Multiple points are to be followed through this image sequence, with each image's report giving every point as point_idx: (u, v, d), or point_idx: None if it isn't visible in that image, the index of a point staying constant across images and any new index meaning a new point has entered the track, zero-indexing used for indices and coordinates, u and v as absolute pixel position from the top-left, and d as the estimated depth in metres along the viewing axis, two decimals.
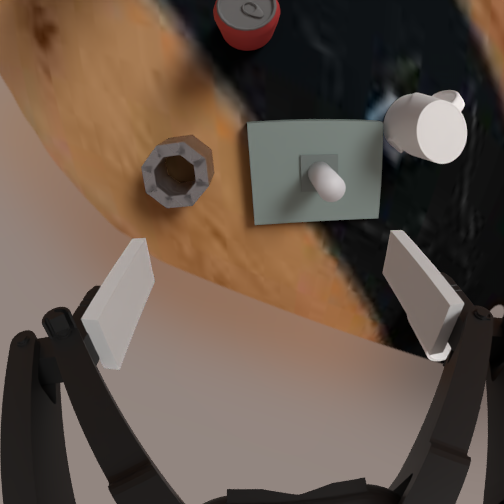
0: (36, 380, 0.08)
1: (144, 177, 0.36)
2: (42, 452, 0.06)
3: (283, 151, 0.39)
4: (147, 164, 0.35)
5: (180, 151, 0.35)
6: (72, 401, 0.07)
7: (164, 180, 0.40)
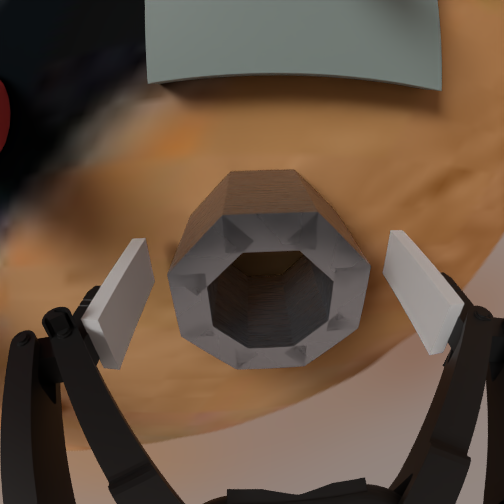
0: (36, 380, 0.08)
1: (265, 366, 0.15)
2: (42, 452, 0.06)
3: None
4: (231, 357, 0.14)
5: (196, 284, 0.12)
6: (72, 401, 0.07)
7: (290, 301, 0.17)
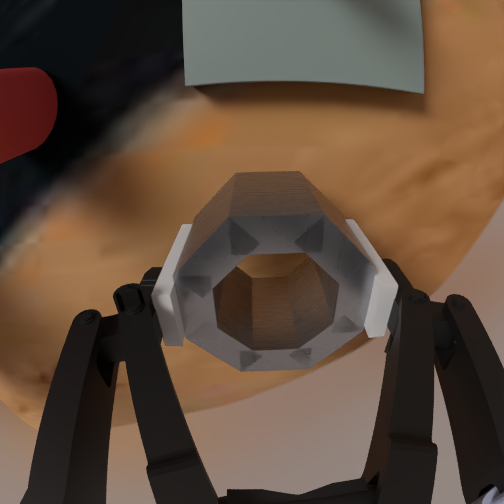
0: (94, 362, 0.09)
1: (269, 368, 0.15)
2: (84, 436, 0.07)
3: (253, 9, 0.13)
4: (236, 360, 0.14)
5: (201, 286, 0.12)
6: (129, 377, 0.08)
7: (294, 303, 0.17)
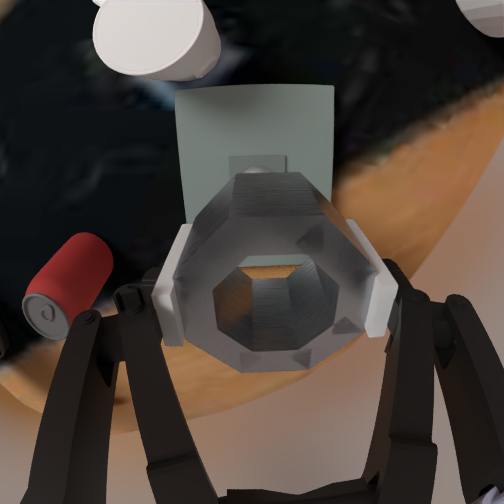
0: (94, 362, 0.09)
1: (269, 369, 0.14)
2: (84, 436, 0.07)
3: None
4: (236, 361, 0.14)
5: (201, 287, 0.12)
6: (129, 377, 0.08)
7: (295, 304, 0.17)
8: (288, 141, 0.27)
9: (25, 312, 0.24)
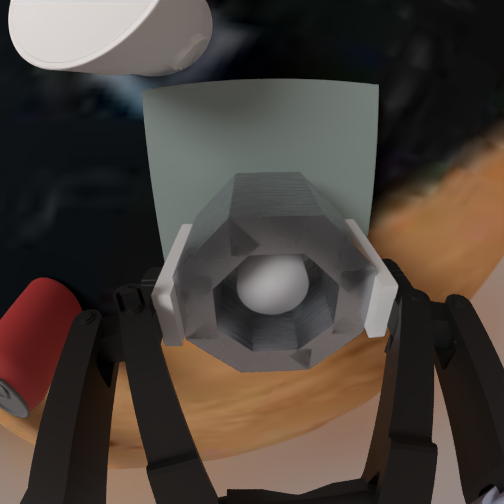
0: (94, 362, 0.09)
1: (269, 369, 0.14)
2: (84, 436, 0.07)
3: None
4: (236, 360, 0.14)
5: (201, 287, 0.12)
6: (129, 377, 0.08)
7: None
8: (311, 165, 0.18)
9: None
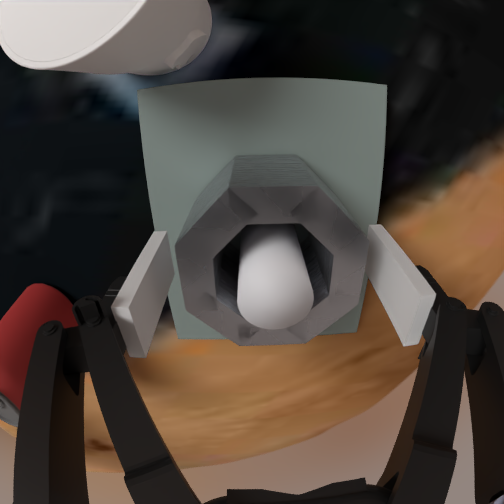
0: (60, 371, 0.08)
1: (267, 343, 0.15)
2: (59, 444, 0.06)
3: None
4: (234, 333, 0.15)
5: (202, 256, 0.13)
6: (96, 389, 0.08)
7: None
8: (316, 169, 0.17)
9: None
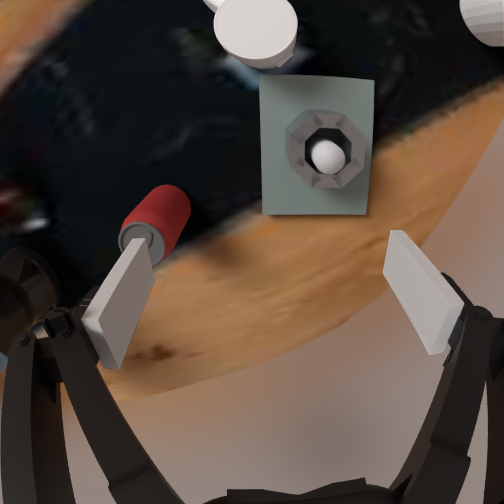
0: (36, 380, 0.08)
1: (324, 186, 0.33)
2: (42, 452, 0.06)
3: (293, 182, 0.39)
4: (310, 179, 0.32)
5: (300, 139, 0.30)
6: (72, 401, 0.07)
7: None
8: None
9: (121, 242, 0.33)
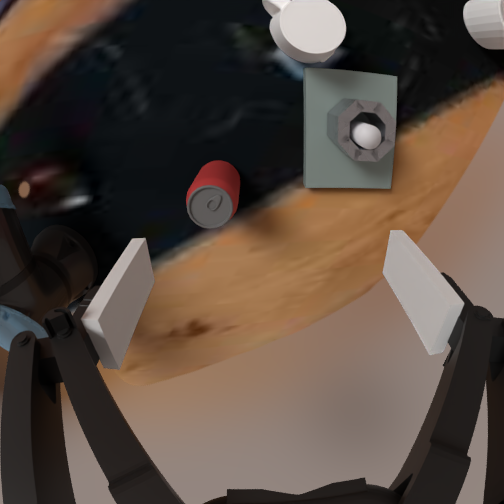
0: (36, 380, 0.08)
1: (364, 159, 0.38)
2: (42, 452, 0.06)
3: (332, 159, 0.44)
4: (353, 154, 0.37)
5: (346, 121, 0.35)
6: (72, 401, 0.07)
7: None
8: None
9: (189, 205, 0.37)
